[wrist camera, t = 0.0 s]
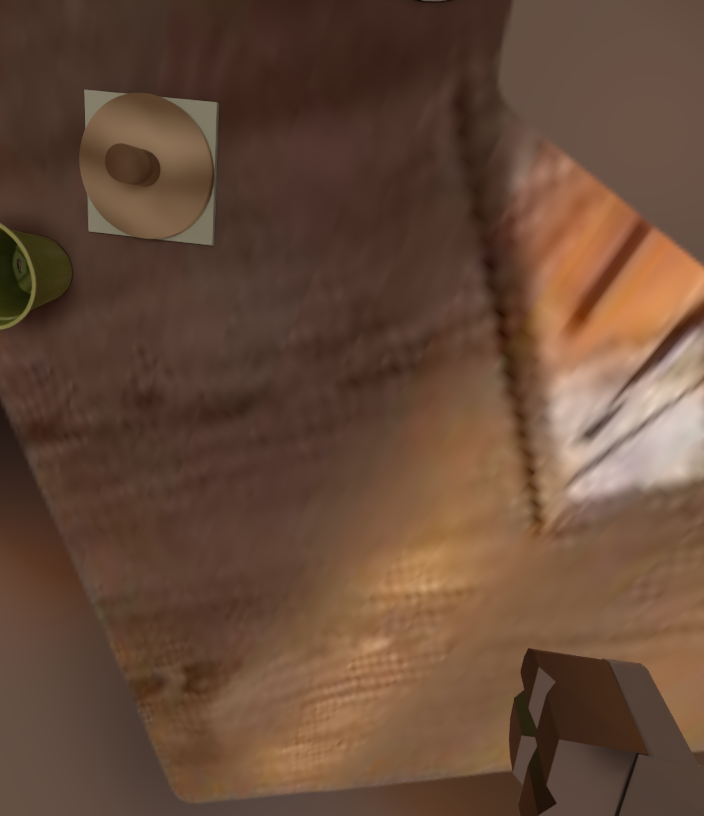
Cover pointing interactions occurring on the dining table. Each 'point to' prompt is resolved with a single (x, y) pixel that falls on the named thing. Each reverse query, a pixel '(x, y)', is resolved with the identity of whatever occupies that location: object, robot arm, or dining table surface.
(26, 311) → the plant pot
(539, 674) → the robot arm
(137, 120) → the lid
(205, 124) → the mat
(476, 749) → the dining table surface
